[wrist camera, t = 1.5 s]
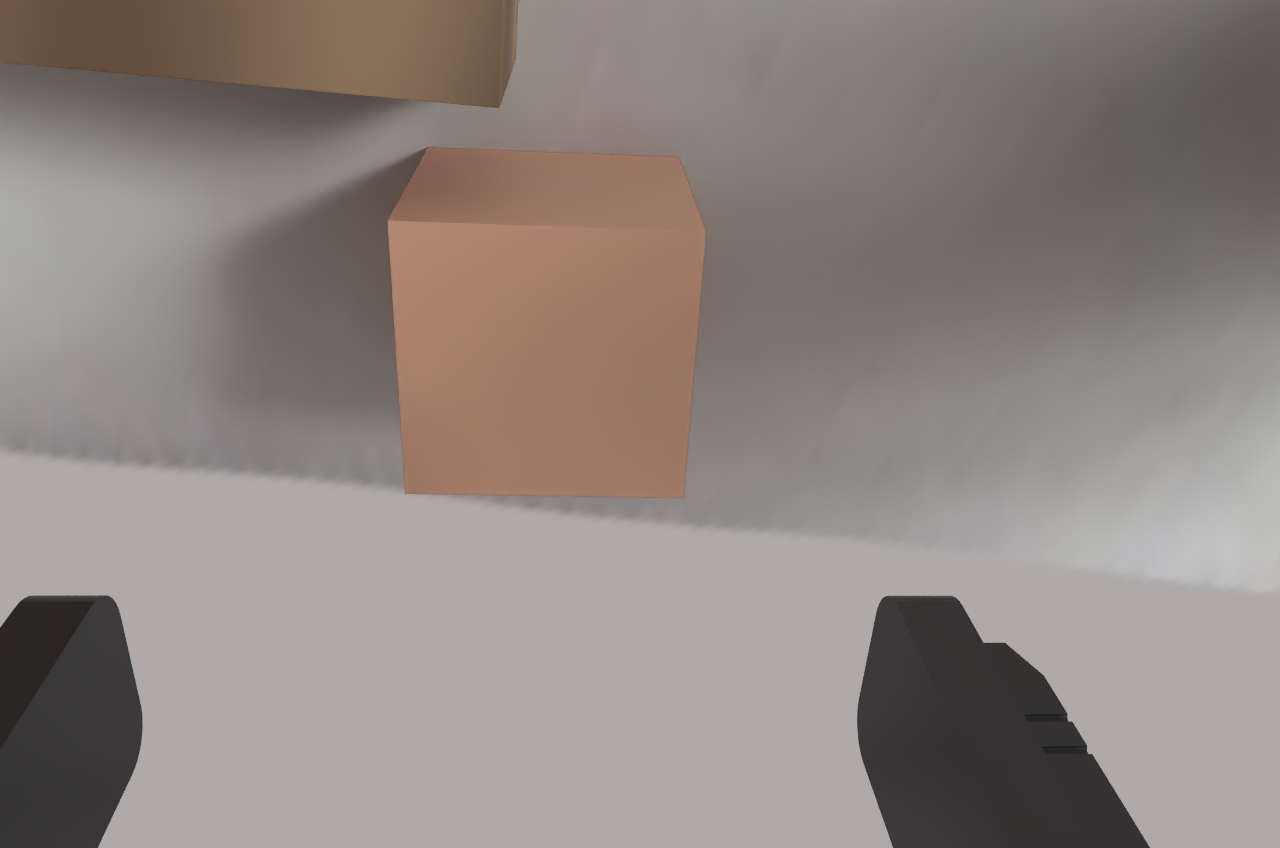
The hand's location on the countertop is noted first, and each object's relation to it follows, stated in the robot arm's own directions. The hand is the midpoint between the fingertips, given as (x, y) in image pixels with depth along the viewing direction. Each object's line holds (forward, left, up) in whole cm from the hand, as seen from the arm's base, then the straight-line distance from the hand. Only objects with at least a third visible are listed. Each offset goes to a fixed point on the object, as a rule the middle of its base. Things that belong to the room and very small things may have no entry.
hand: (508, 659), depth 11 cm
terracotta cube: (0, 0, -12) cm, 12 cm away
